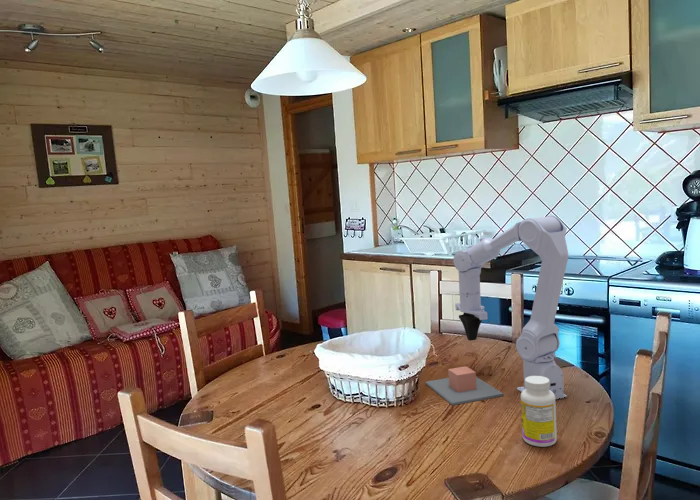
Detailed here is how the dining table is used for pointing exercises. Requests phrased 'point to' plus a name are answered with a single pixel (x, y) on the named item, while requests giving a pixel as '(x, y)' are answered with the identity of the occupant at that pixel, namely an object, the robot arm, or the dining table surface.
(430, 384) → the grey square base plate
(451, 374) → the peach rounded cube
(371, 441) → the dining table surface
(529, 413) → the supplement bottle
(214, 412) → the dining table surface
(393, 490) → the dining table surface
